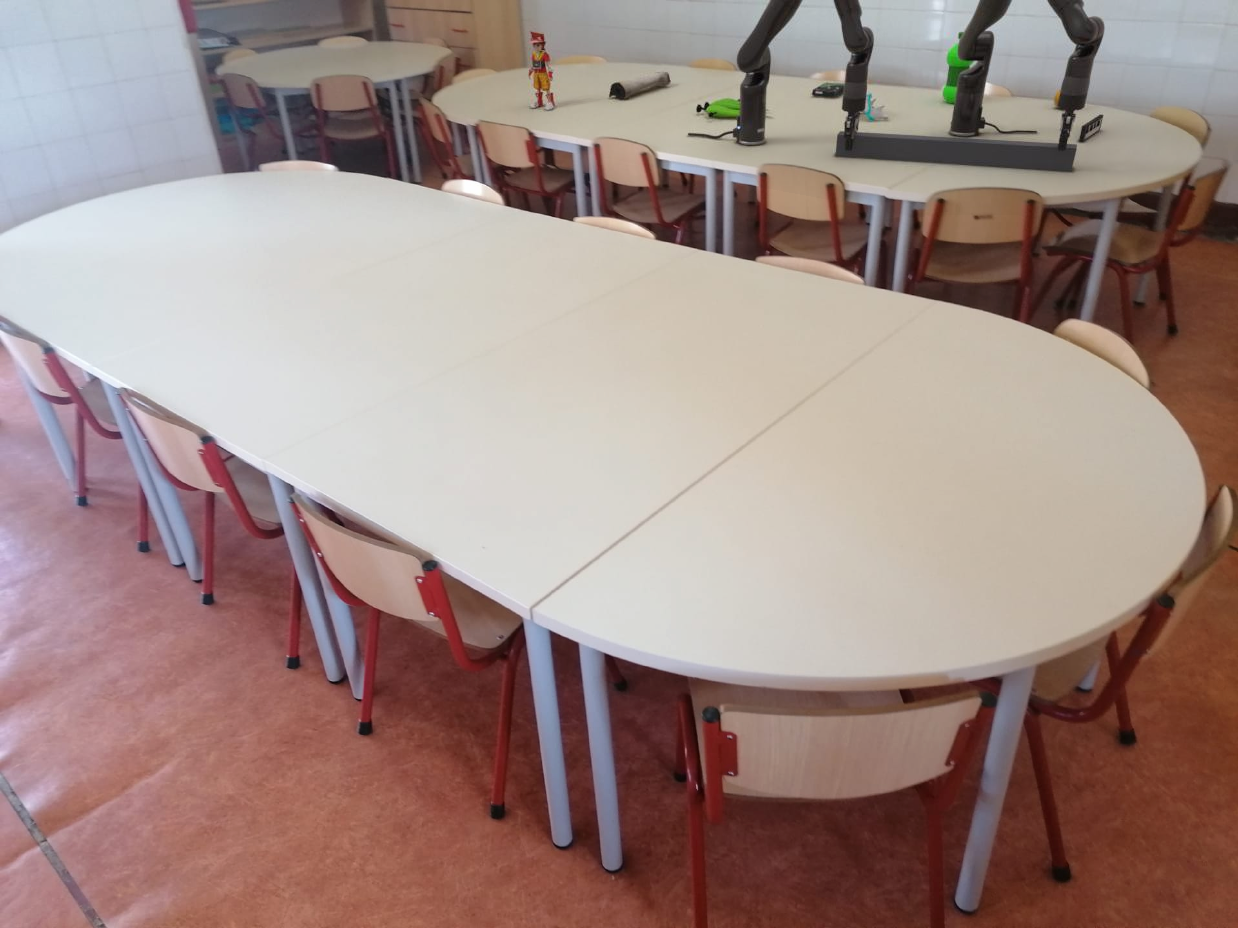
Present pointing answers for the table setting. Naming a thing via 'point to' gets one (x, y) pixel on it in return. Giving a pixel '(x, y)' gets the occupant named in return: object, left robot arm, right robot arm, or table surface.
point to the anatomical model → (873, 109)
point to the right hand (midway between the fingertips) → (1061, 146)
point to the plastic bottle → (954, 72)
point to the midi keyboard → (1091, 127)
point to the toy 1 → (541, 71)
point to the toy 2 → (722, 108)
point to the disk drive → (829, 90)
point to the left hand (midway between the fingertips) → (849, 147)
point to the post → (958, 151)
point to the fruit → (1056, 98)
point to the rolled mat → (638, 84)
